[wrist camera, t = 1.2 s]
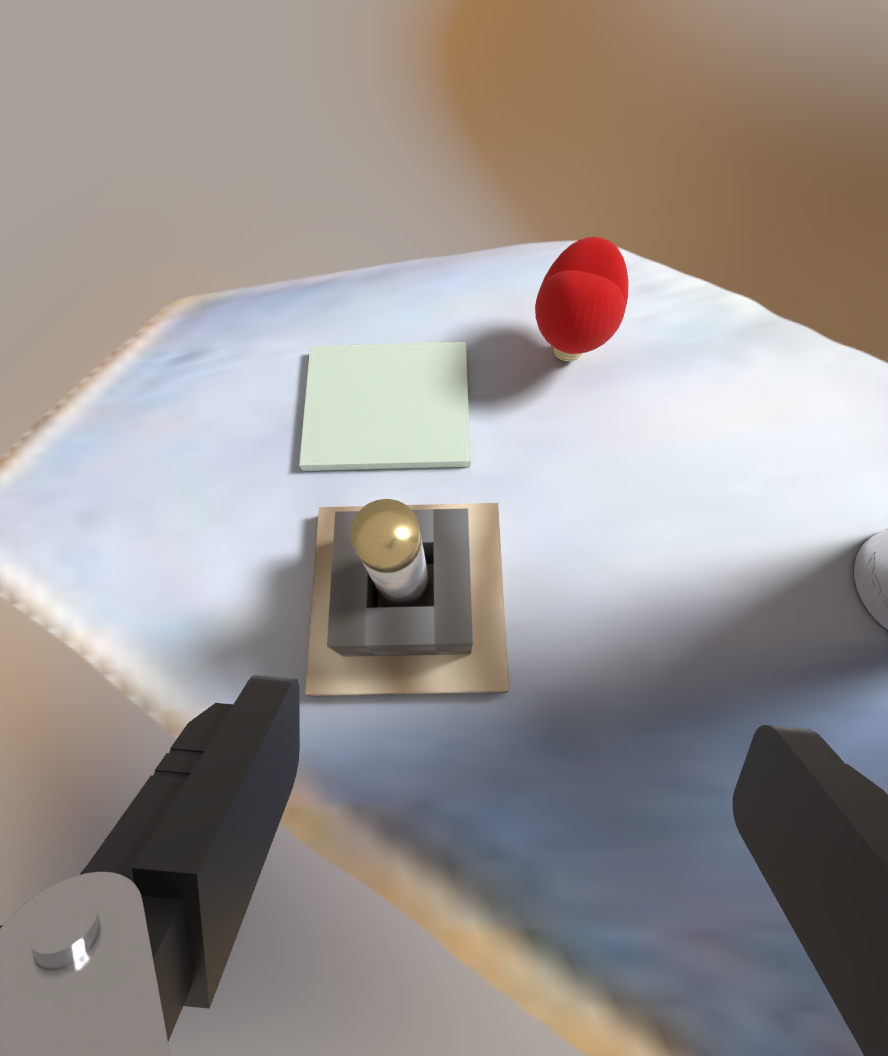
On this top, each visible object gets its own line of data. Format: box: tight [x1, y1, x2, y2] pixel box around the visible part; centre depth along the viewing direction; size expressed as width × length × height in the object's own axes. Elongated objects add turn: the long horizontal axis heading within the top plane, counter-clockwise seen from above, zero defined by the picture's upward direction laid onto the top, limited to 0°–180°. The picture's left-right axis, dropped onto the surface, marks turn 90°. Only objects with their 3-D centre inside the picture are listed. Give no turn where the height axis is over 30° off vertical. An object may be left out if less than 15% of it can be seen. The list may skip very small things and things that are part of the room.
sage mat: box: [299, 342, 470, 471], centre depth 46 cm, size 14×12×1 cm
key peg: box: [350, 499, 431, 607], centre depth 33 cm, size 4×4×13 cm
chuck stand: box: [305, 503, 509, 696], centre depth 37 cm, size 14×14×6 cm
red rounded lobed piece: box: [535, 237, 628, 361], centre depth 43 cm, size 9×7×10 cm
